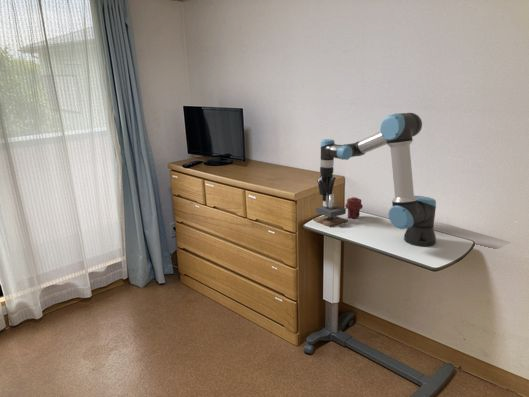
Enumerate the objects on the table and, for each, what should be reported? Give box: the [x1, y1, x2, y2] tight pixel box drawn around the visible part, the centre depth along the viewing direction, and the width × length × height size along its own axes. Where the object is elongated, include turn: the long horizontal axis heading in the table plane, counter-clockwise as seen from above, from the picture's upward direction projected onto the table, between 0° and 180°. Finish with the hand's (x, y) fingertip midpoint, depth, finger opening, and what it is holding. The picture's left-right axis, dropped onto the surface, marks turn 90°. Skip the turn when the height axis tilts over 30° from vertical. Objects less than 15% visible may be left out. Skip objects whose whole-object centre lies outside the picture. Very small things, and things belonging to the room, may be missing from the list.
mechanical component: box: [344, 196, 363, 220], centre depth 241 cm, size 12×10×10 cm
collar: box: [315, 204, 347, 218], centre depth 234 cm, size 12×12×3 cm
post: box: [328, 193, 335, 220], centre depth 234 cm, size 3×3×15 cm
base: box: [313, 215, 349, 228], centre depth 236 cm, size 14×14×2 cm
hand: (325, 206), depth 238 cm, fingers closed
